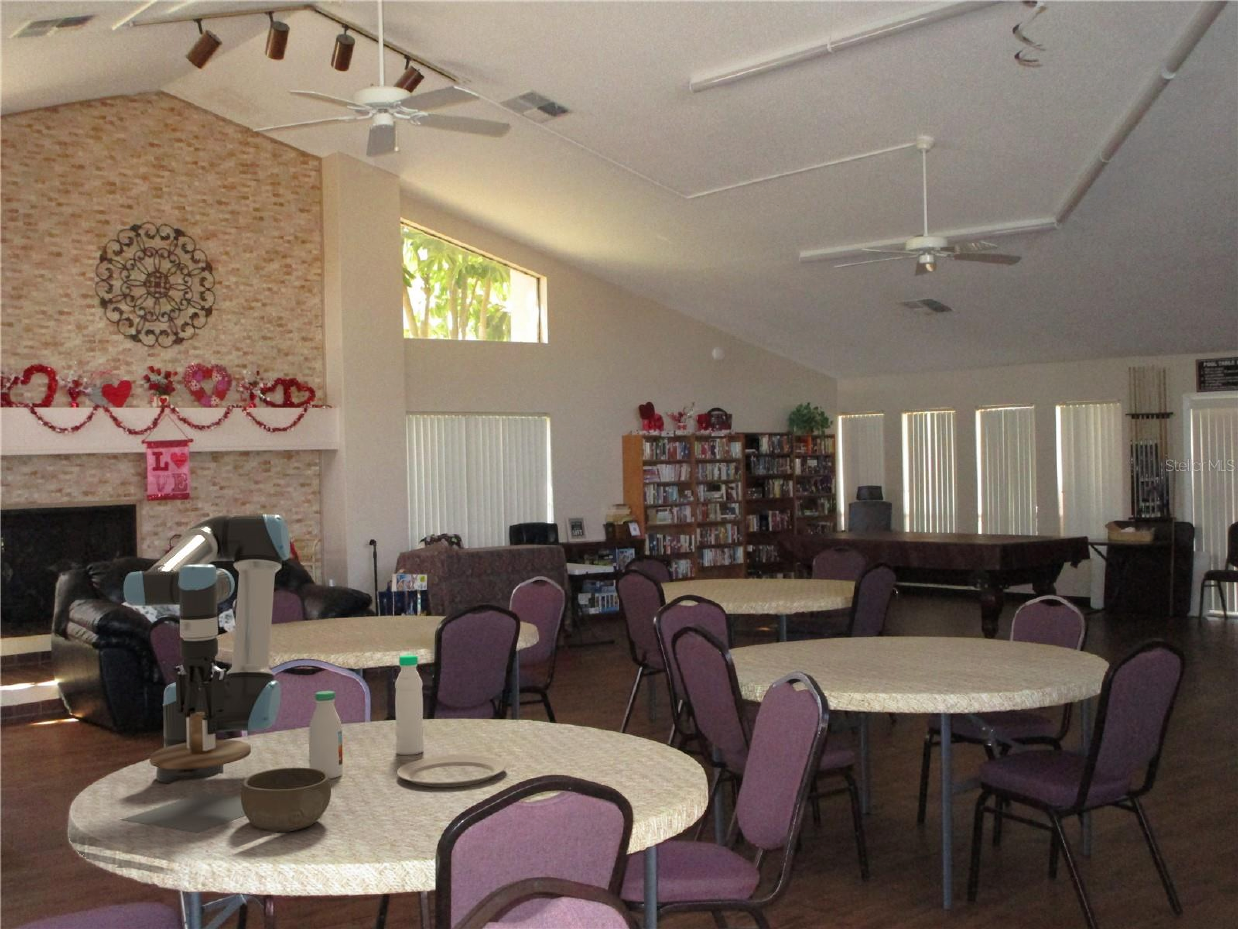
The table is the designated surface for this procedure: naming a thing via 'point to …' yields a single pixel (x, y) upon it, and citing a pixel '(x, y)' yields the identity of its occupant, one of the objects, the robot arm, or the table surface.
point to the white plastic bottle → (409, 708)
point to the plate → (454, 760)
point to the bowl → (285, 798)
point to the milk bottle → (326, 736)
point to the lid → (199, 751)
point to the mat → (193, 813)
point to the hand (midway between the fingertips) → (201, 748)
